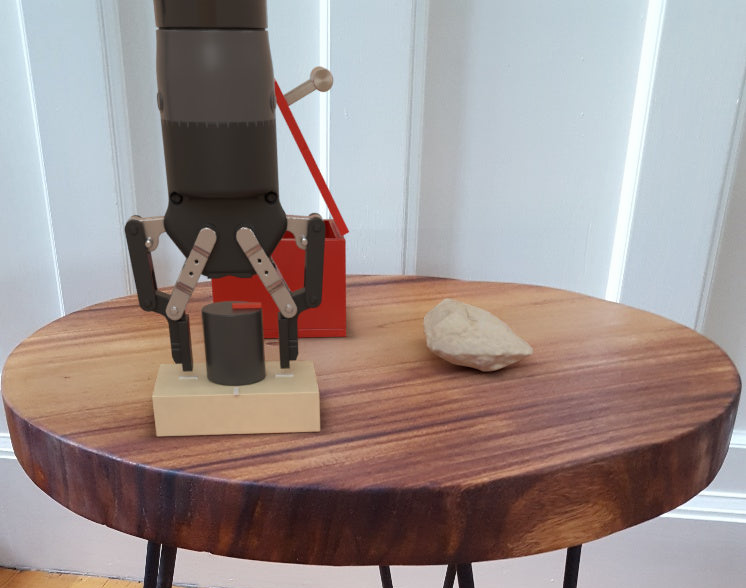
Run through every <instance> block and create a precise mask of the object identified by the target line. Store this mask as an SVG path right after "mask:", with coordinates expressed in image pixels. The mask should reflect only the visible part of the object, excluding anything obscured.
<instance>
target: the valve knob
mask: <svg viewBox="0 0 746 588" xmlns="http://www.w3.org/2000/svg"><path fill="white" fill-rule="evenodd" d="M200 311H201V313H200V314H201V323H202V333H203V334H202V335H203V346H204V347H203V348H204V356H205V357H204V359H205V363H206V370H207V378H208V380H209V381H211V382H213V383H217V384H222V385H247V384H252V383H256V382H259V381H261V380H263V379H264V378H265V376H266V370H265V362H266V355H265V338H264V332H263V314H262V306H261V302H253V303H251V302H244V301H224V302H216V303H213V302H212V303H208V304H205V305H204V306H202V307H201V309H200Z"/></svg>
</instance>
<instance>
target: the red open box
mask: <svg viewBox="0 0 746 588" xmlns="http://www.w3.org/2000/svg"><path fill="white" fill-rule="evenodd" d="M323 221H324V223H325V227H326V230H325V249H324V267H323V286H322V302H321V304H320V305H319V306H318V307H317V308H310V309H307V310H305V311H303V312H301V313H300V314H299V316H298V319H297V326H298V339H299V338H301V339H302V338H339V337H340V338H341V337H342V338H343V337H344V338H345V337H347V260H346V259H347V251H346V250H347V240H346V238H345V235H343V236H341V234H340V232H339V230H338V228H337V226H336V224H335V221H334V219H333V218H323ZM271 257H272V258H273V260H274V262H275V263H276V265H277V267H278V269H279V270H280V272H281V274H282V276H283V278H284V280H285V282H286V283H287V285H288V287H289V289H290V290H291V292H294V291H296V290H299V289H301V288H303V287H304V264H305V250H303V249H300V248H299V247H298V246H297V244H296V241H295V236H294V235H293V233H291V232H290V231H286V233H285V234H284V236H283V237H282V239H281V241H280V242H279V244H278V245H277V247H276V249H275V250H274V252H273V253H272V255H271ZM210 282H211V293H212V303H216V302H224V301H244V302H251V303H253V302H261V306H262V314H263V332H264V339H279V334H278V313H277V312H280V310H279V308H278V307H277V305H276V303H275V302H274V300H273V298H272V296H271V295H270V293H269V292H268V291H267V289H266V288H265V286H264V284H263V283H262V281H261V279H260V278H259V276H258V274H256V275H254V276H252V278H238V277H234V276H230V275H229V276H226V277H222V278H219V279H210Z"/></svg>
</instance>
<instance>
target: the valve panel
mask: <svg viewBox="0 0 746 588" xmlns="http://www.w3.org/2000/svg"><path fill="white" fill-rule="evenodd" d="M265 370H266V376H265V378H264V379H263V380H261V381H259V382H256V383H252V384H247V385H222V384H217V383H213V382H211V381H209V380H208V378H207V370H206V362H197V363H196V362H193V371H191V372H183V369H182V364H175V363H160V364H159V367H158V371H157V374H156V375H157V376H156V379H155V383H154V387H153V391H152V396H151V400H152V409H153V416H154V424H155V425H154V426H155V435H156V437H186V436H188V437H189V436H190V437H191V436H220V435H249V434H250V435H251V434H252V435H253V434H254V435H255V434H283V433H314V432H317V433H318V432H321V406H320V402H321V401H320V388H319V384H318V378H317V375H316V374H317V373H316V370H315V365H314V360H294V361H290V369H281V368H280V360H277V361H275V360H274V361H273V360H272V361H265Z"/></svg>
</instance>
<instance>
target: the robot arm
mask: <svg viewBox="0 0 746 588" xmlns="http://www.w3.org/2000/svg"><path fill="white" fill-rule="evenodd" d="M152 3H153V13H154V23H155V27H156V30H155V38H156V39H155V40H156V42H155V43H156V45H155V48H156V51H155V75H156V86H157V93H156V102H157V109H158V111H159V115H160V116H159V117H160V126H161V136H162V137H161V138H162V144H163V156H164V166H165V176H166V185H167V197H168V199H167V200H168V201H167V202H168V203H167V208H166V211H165V213H164V215H159V216H147V217H142V216H140V215H137V214H133V215H131V216H130V217H129V218H128V219H127V221H126V222H125V225H124V234H125V241H126V245H127V249H128V255H129V260H130V265H131V269H132V275H133V280H134V285H135V291H136V295H137V300H138V305H139V308H140V309H141V310H142V311H144V312H146V313H150V312H153V313H156V314H159V315H161V316H163V317H164V318H165V319H166V321H167V323H168V331H169V342H170V350H171V351H170V352H171V358H172V360H173V362H174V364H182V369H183V372H191V371H193V363H194V355H193V344H192V334H191V325H190V324H191V323H190V314H189V313H187V312H186V308H187V306H188V305H189V302H190V299H191V297H192V295H193V293H194V291H195V289H196V287H197V284H198V282H199V280H200V277H201V276H204V277H206V279H207V280H211V279H219V278H222V277H226V276H229V275H230V276H234V277H238V278H252V276H254V275H256V274H258V276H259V278H260V279H261V281H262V283H263V284H264V286H265V288H266V289H267V291H268V292H269V293H270V295H271V296H272V298H273V300H274V302H275V303H276V305H277V307H278V308H279V310H280V312H277V313H278V334H279V338H278V353H279V355H278V356H279V361H280V368H281V369H290V361H297V359H298V356H299V338H298V326H297V319H298V316H299V314H300V313H301V312H303V311H305V310H307V309H310V308H317V307H318V306H319V305H320V304H321V302H322V286H323V267H324V249H325V230H326V227H325V223H324V221H323V219H324V218H323V216H322V215H321V214H320V213H318V212H312V213H309V214H308V215H299V214H298V215H297V214H296V215H295V214H286V211H285V209H284V207H283V206H282V203H281V200H280V183H279V161H278V160H279V159H278V157H279V156H278V137H277V136H278V135H277V113H276V110H277V106H278V105H277V101H276V95H275V86H274V78H275V70H274V64H273V58H272V57H273V56H272V51H271V44H270V37H269V35H270V34H269V30H267V29H268V28H269V21H268V20H269V18H268V17H269V16H268V0H152ZM157 28H158V29H157ZM286 231H290V232H291V233H293V235H294V236H295V241H296V244H297V246H298V247H299V248H300V249H303V250H305V264H304V287H303V288H301V289H299V290H296V291H294V292H291V290H290V289H289V287H288V285H287V283H286V282H285V280H284V278H283V276H282V274H281V272H280V270H279V269H278V267H277V265H276V263H275V262H274V260H273V258H272V257H271V255H272V253H273V252H274V250H275V249H276V247H277V245H278V244H279V242H280V241H281V239H282V237H283V236H284V234H285V233H286ZM164 233H166V234H167V236H168V237H169V238H170V240H171V241H172V242H173V244H174V245H175V246H176V248H177V249H178V250H179V251H180V252H181V254H182V255H183V256H184V257H185V260H184V262H183V265H182V267H181V269H180V272H179V274H178V277H177V279H176V282H175V283H174V286H173V288H172V291H171V294H170V293H167V292H164V291H161V290H159V289H158V284H157V283H158V282H157V278H156V273H155V267H154V261H153V257H152V252H154V251H156V250H157V249H158V246H159V244H160V236H161V235H162V234H164Z"/></svg>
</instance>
